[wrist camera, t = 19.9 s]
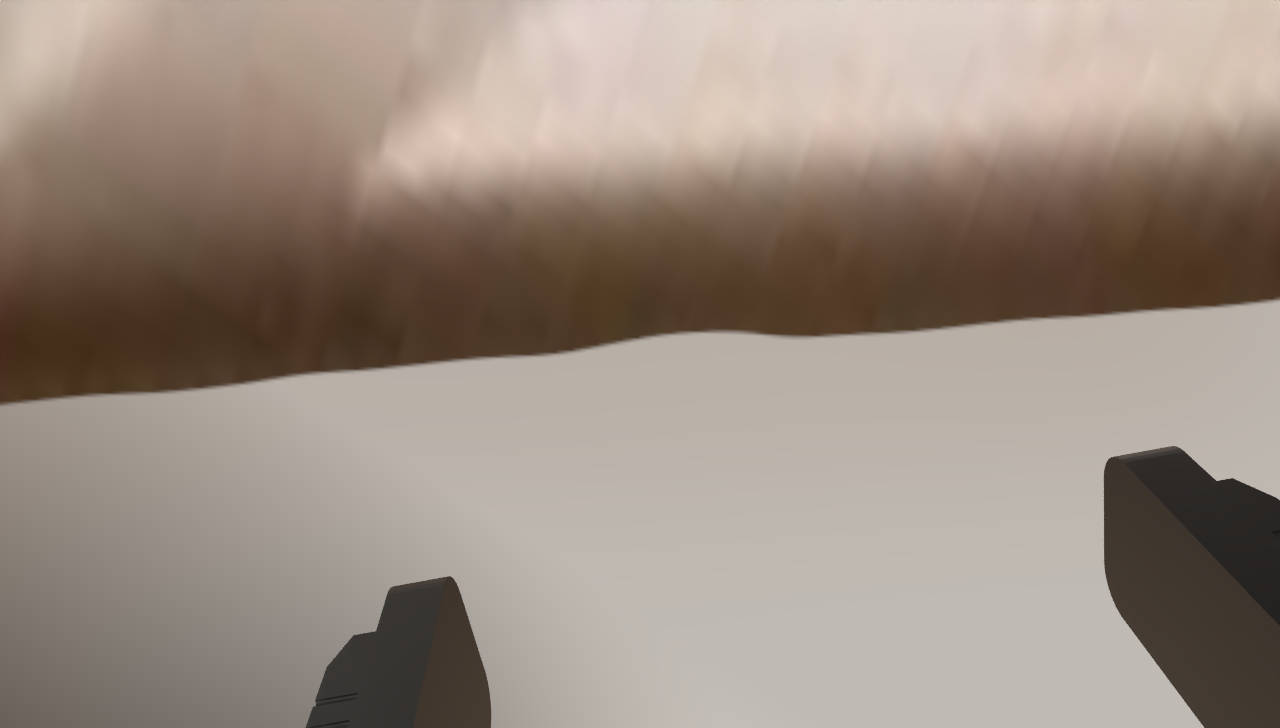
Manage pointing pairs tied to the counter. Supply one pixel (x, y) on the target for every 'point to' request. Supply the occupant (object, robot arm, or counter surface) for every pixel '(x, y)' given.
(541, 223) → the counter surface
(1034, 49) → the counter surface
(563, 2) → the counter surface
